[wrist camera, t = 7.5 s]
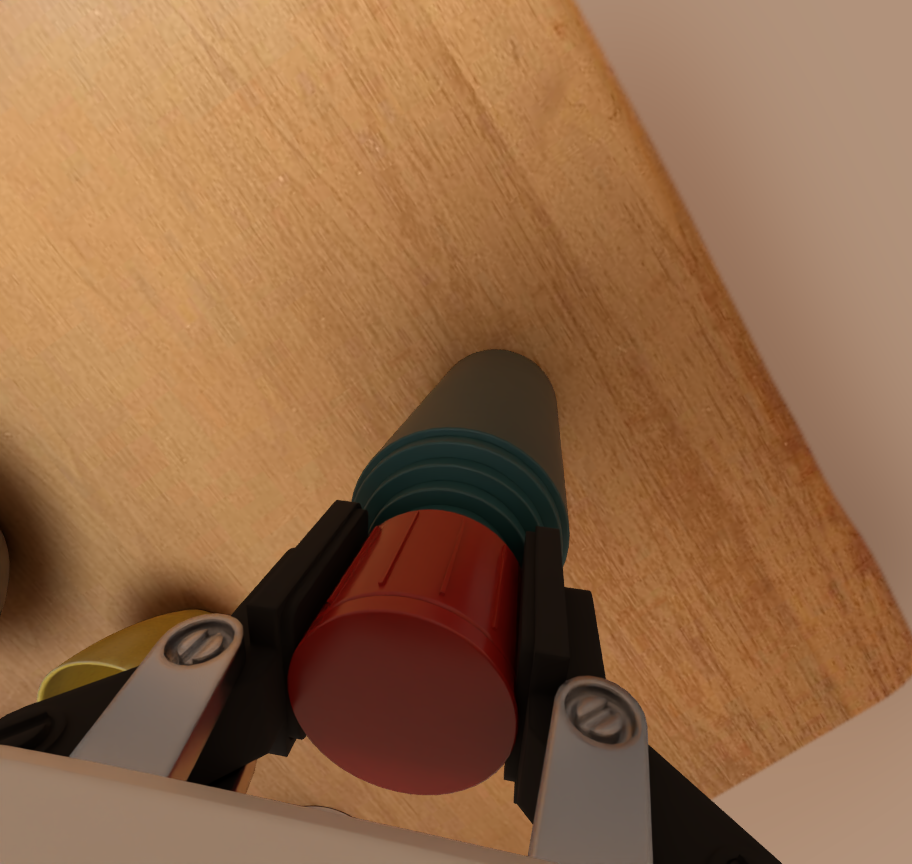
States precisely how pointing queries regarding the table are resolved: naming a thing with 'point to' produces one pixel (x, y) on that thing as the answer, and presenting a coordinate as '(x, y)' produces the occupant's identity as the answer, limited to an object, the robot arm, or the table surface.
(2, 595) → the bowl
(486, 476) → the bottle
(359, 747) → the cap
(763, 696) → the table surface
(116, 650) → the flower pot
